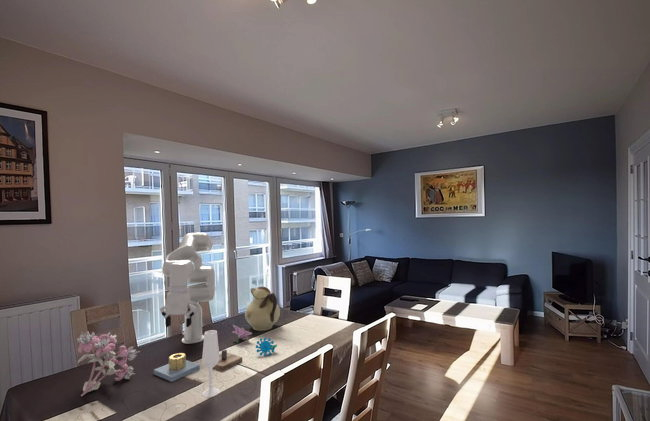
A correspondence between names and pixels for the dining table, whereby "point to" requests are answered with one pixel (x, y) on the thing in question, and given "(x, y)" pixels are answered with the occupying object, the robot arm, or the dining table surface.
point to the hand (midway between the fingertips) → (178, 326)
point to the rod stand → (227, 361)
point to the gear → (265, 346)
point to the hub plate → (176, 371)
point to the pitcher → (262, 309)
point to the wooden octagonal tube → (177, 361)
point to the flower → (107, 348)
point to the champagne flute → (210, 359)
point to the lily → (241, 332)
